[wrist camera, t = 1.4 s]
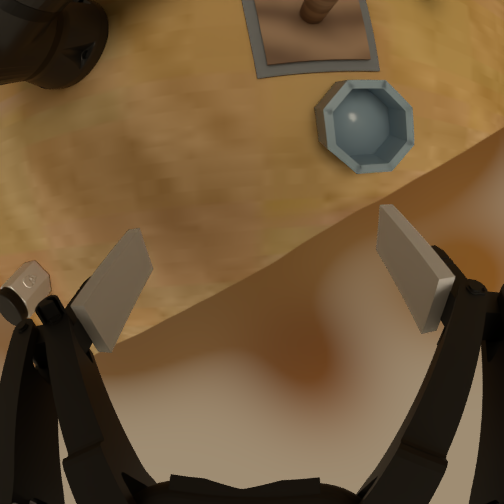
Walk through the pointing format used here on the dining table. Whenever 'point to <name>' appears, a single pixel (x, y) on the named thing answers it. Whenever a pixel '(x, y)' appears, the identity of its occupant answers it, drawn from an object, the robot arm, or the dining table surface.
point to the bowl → (365, 124)
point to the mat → (311, 66)
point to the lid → (312, 30)
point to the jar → (24, 292)
